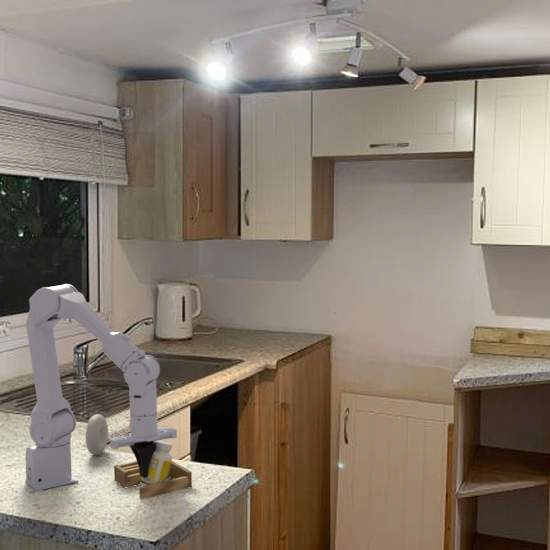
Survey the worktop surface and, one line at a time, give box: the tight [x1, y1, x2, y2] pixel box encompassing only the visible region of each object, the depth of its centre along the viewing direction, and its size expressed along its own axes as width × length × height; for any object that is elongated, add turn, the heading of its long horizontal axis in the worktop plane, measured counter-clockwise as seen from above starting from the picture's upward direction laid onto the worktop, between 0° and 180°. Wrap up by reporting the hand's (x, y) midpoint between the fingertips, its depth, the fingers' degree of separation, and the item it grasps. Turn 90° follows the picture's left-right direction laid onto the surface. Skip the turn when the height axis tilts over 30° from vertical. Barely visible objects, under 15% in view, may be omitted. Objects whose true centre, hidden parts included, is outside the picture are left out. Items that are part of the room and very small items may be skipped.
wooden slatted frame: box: [113, 460, 193, 500], centre depth 166 cm, size 12×14×3 cm
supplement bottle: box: [140, 440, 173, 487], centre depth 163 cm, size 5×5×10 cm
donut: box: [85, 413, 109, 456], centre depth 186 cm, size 10×4×10 cm, turn 175°
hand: (145, 476), depth 161 cm, fingers closed, pressing on supplement bottle
